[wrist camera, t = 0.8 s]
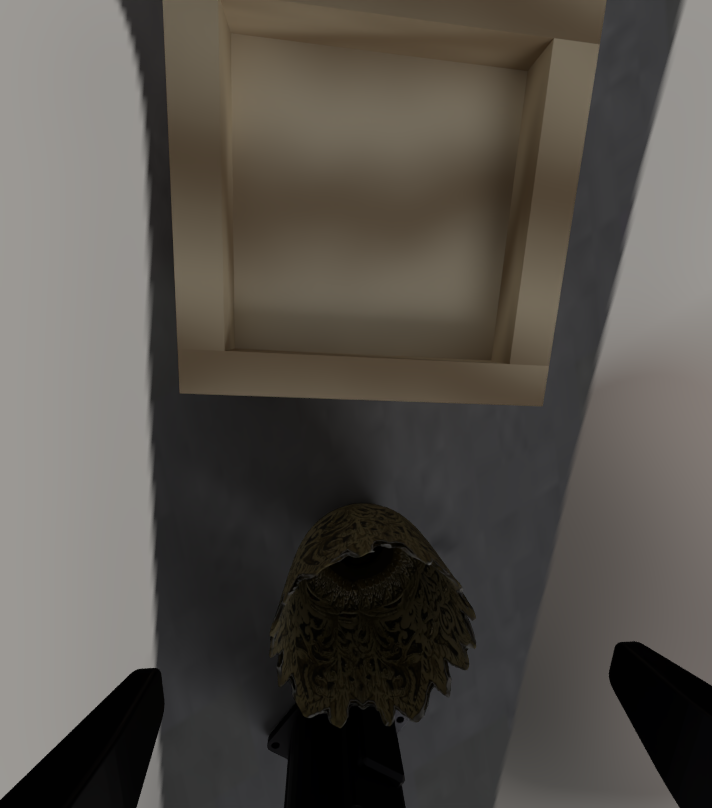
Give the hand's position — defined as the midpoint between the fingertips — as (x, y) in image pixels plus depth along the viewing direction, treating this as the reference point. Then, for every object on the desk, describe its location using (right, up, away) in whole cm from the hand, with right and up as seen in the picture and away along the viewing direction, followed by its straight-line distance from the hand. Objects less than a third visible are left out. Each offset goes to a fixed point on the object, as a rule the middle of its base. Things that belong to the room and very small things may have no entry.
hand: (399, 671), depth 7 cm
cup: (-1, -2, +14) cm, 14 cm away
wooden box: (-1, +13, +10) cm, 17 cm away
